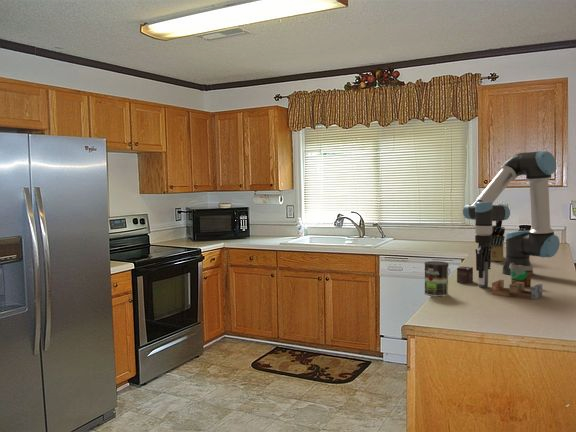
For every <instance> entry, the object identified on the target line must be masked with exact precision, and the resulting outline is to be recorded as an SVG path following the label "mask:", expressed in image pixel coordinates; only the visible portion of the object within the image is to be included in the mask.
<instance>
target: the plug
mask: <svg viewBox="0 0 576 432" xmlns="http://www.w3.org/2000/svg"><path fill="white" fill-rule="evenodd" d="M484 271H485V285H480V284H478V288H481V289H487V288H489V269H488V262H486V261H485V262H484Z"/></svg>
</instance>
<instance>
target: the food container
mask: <svg viewBox="0 0 576 432" xmlns="http://www.w3.org/2000/svg"><path fill="white" fill-rule="evenodd" d="M509 268H510V270H511V275H510V280H511V282H510V283H511V284H513V283H515V282H524V288H526V287H527V288H529V287H531V282H532V281H531V280H532V275H533V274H532V270H533V271H534V269H533V265H531V266H523V265H514V263H510V265H509ZM531 274H532V275H531Z"/></svg>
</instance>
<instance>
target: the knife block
mask: <svg viewBox="0 0 576 432" xmlns="http://www.w3.org/2000/svg"><path fill="white" fill-rule="evenodd" d="M505 232H506V228H505V226H503V221H495V225H492V234H491V235H492V243H489V247H491V261H492V262H493V261H494V262H496V261H498V262H502V261H504V241H505V239H506V236H505Z"/></svg>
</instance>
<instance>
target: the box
mask: <svg viewBox="0 0 576 432" xmlns="http://www.w3.org/2000/svg"><path fill="white" fill-rule="evenodd" d="M456 269H457V270H456V283H460V284H468V285H469V284H471V283H473V281H474V272H473V271H474V267H472V266H459V267H457V268H456Z"/></svg>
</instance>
